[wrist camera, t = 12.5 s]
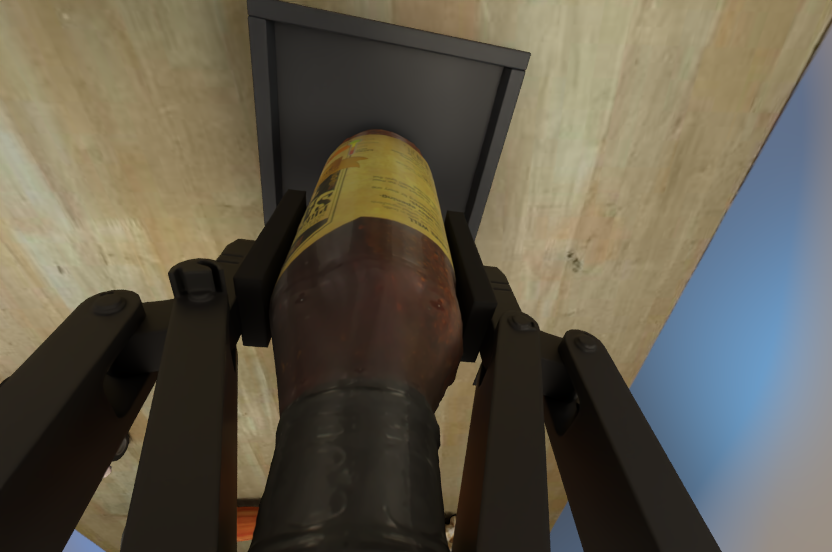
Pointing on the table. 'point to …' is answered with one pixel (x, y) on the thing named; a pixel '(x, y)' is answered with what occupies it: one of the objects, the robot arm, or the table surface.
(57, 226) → the table surface
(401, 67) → the tray
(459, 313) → the sauce bottle
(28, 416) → the robot arm
